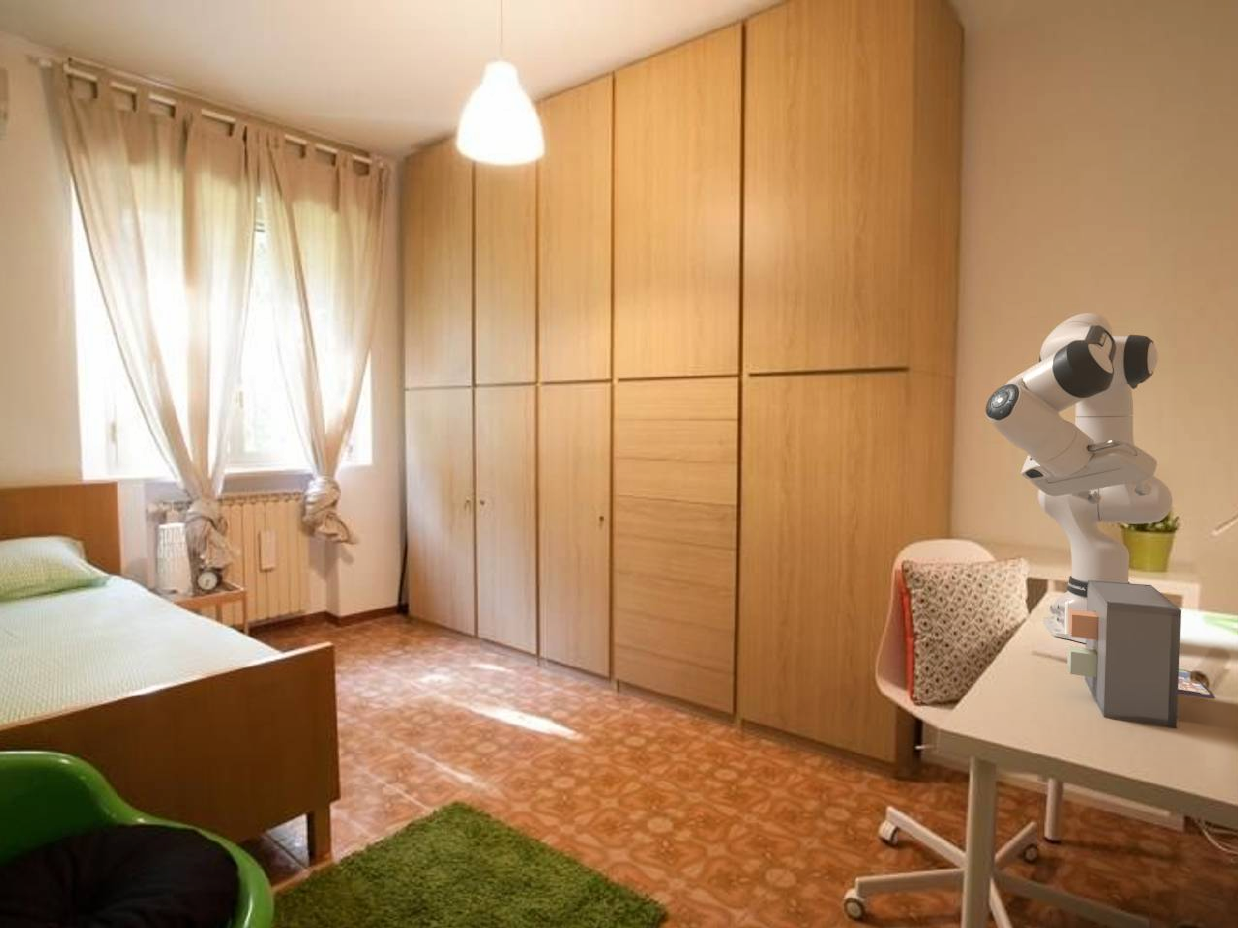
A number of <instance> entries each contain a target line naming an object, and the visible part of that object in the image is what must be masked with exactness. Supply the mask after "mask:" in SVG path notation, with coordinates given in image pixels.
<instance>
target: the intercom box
mask: <svg viewBox="0 0 1238 928" xmlns="http://www.w3.org/2000/svg"><path fill="white" fill-rule="evenodd" d="M1087 611H1094V612H1096V613H1097V614H1098V616H1099V618H1098V640H1095V639H1086V643H1085V647H1086V648H1094V649H1095V651H1096V652H1097V677H1089V676H1084V680H1085V682H1086V685H1087V687H1088V689H1089V691H1090V692H1091V694H1092V697H1093V698H1094V699H1093V700H1095V702H1096V704H1097V706H1098V709H1099V711H1100V712H1101V713H1100V714H1101V715H1102V718H1106V719H1113V720H1119V721H1124V722H1133V723H1136V724H1137V723H1138V724H1144V725H1149V726H1157V727H1163V728H1164V727H1166V728H1171V729H1178V711H1179V710H1178V707H1179V702H1178V701H1179V694H1178V682H1179V669H1180V653H1181V650H1180V649H1181V625H1182V623H1181V622H1182V621H1181V619H1182V609H1181V608H1180V607H1178V606H1177V605H1176V604H1175V603H1173V602H1172V601H1171V600H1170V599H1169V598H1167V597H1166V596H1165V595H1164V594H1162V593H1161V592H1160V591H1159V590H1158V589H1156V588H1155V587H1154V586H1153V585H1151V584H1143V583H1141V584H1140V583H1131V582H1130V583H1119V582H1106V581H1094V580H1088V592H1087Z"/></svg>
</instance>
